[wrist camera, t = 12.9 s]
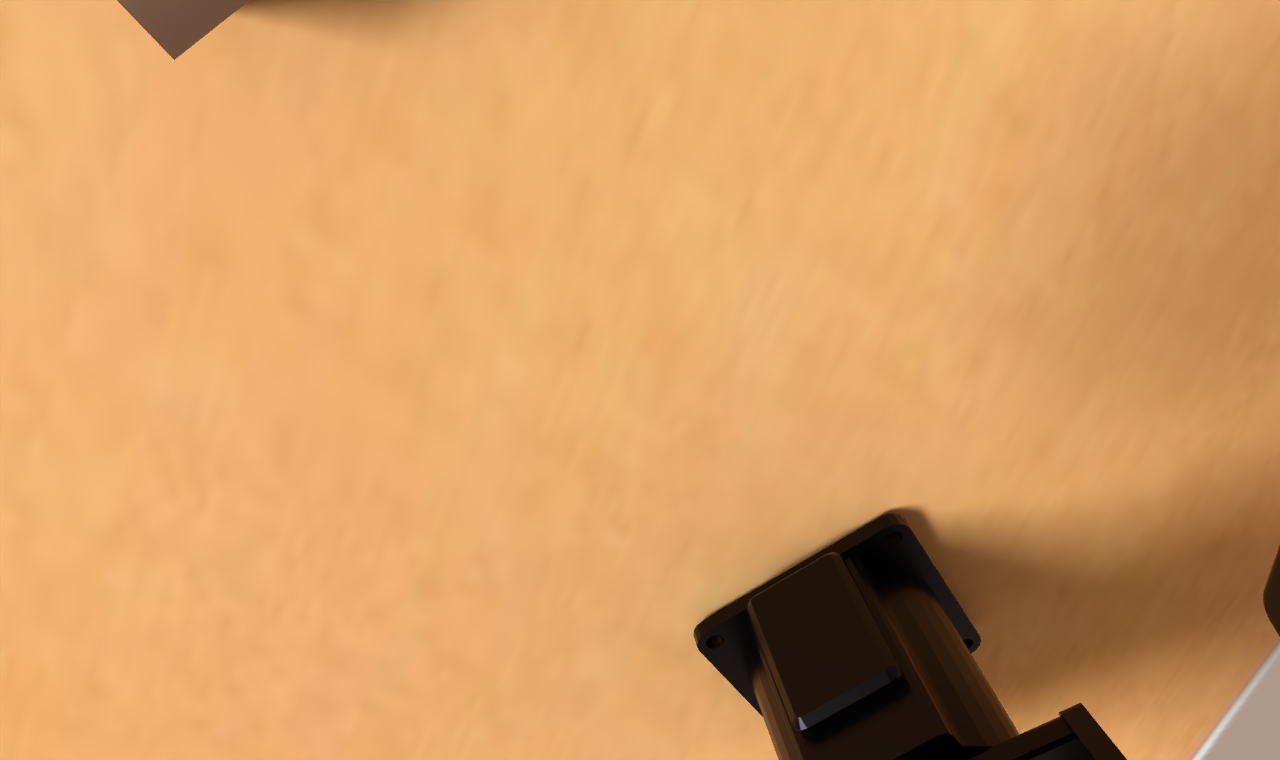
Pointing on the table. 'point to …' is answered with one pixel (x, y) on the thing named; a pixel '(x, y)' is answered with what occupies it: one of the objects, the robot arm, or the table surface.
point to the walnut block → (180, 19)
